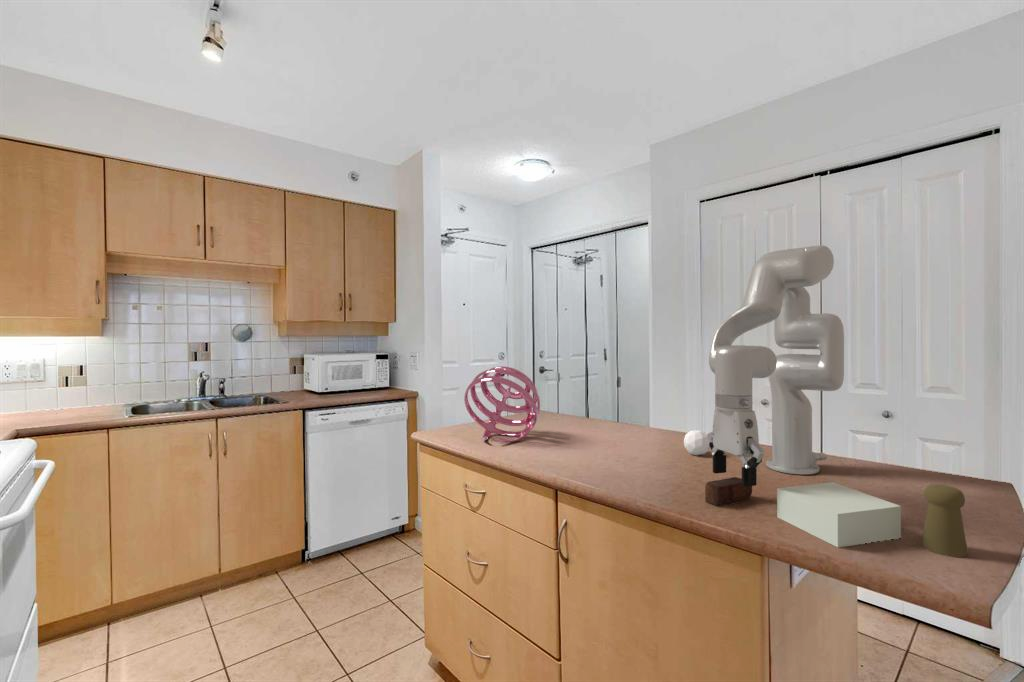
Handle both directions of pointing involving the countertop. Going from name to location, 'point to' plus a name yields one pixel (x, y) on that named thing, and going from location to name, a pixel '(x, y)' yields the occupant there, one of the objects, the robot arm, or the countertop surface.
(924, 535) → the cork
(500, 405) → the spiral basket
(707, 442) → the ball
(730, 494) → the brick
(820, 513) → the sage block
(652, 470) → the countertop surface
